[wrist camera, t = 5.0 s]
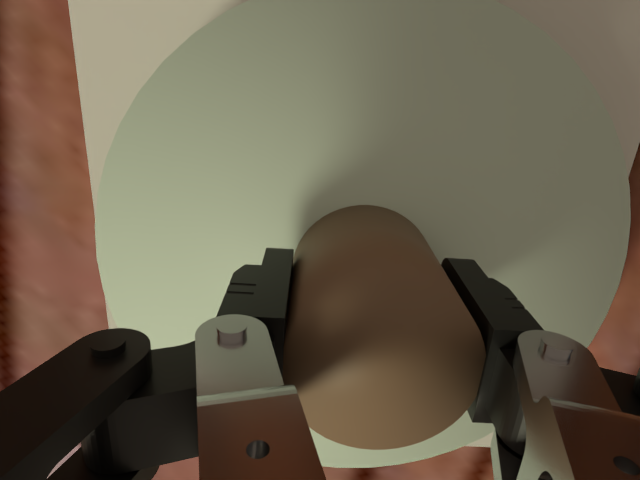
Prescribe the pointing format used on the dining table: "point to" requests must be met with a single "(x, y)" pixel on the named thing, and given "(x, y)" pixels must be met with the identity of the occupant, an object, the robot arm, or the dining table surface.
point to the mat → (208, 3)
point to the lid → (367, 201)
